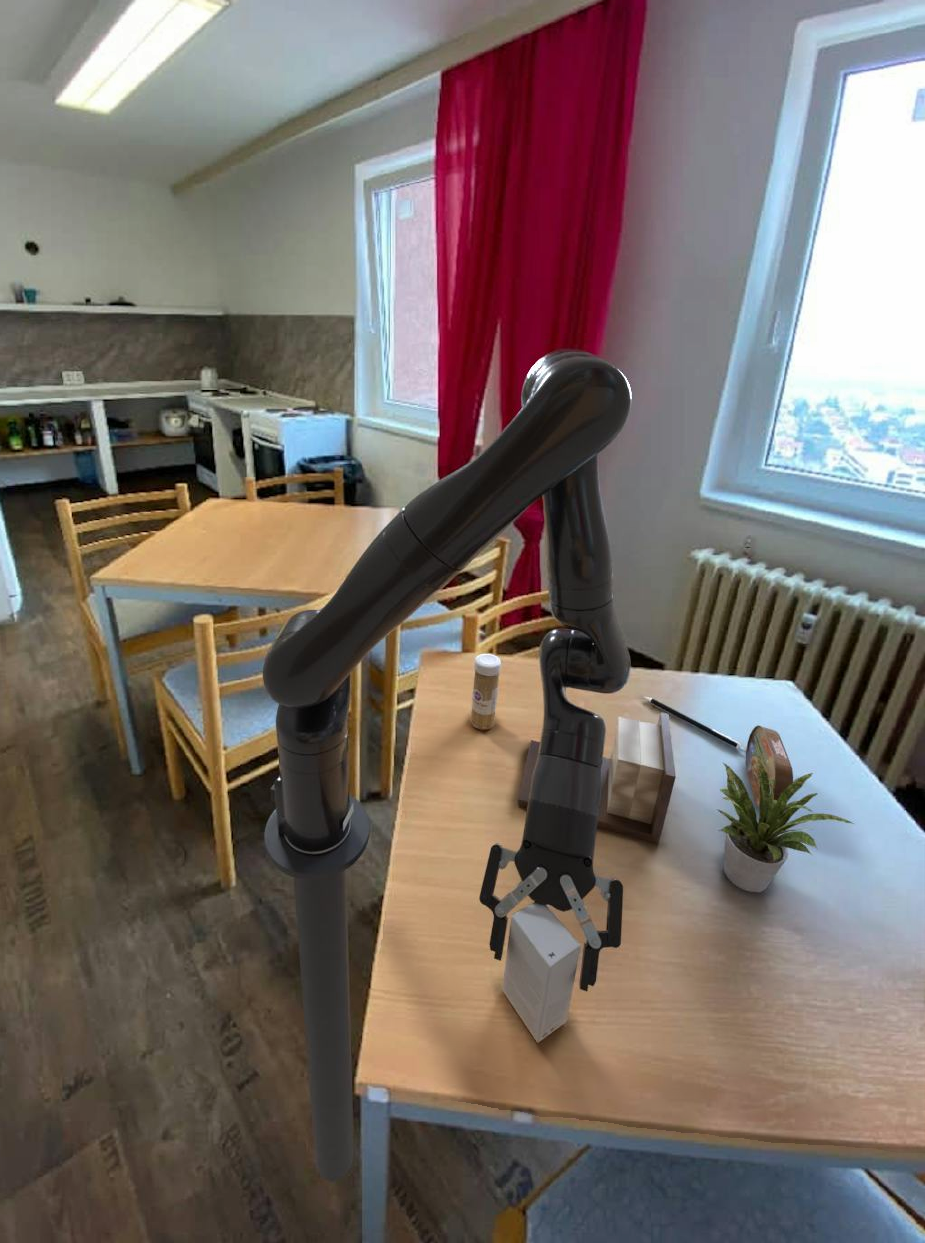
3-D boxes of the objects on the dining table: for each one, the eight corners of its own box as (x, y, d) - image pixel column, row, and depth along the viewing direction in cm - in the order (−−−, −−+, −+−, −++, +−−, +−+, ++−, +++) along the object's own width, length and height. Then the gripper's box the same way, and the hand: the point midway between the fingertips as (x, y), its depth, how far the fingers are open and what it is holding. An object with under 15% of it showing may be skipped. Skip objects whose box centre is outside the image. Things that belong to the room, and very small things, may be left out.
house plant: (816, 861, 80) (853, 769, 74) (822, 949, 69) (867, 848, 63) (702, 817, 87) (727, 729, 80) (691, 891, 76) (719, 795, 69)
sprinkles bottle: (465, 724, 105) (470, 661, 100) (477, 711, 109) (482, 649, 104) (488, 734, 103) (494, 670, 98) (499, 720, 106) (505, 658, 101)
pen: (744, 753, 99) (746, 748, 99) (641, 699, 113) (642, 694, 112) (747, 751, 100) (748, 746, 99) (644, 697, 113) (645, 692, 113)
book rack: (517, 805, 88) (525, 741, 84) (530, 745, 100) (537, 686, 96) (658, 843, 82) (675, 777, 78) (654, 775, 94) (668, 713, 90)
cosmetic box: (568, 1022, 61) (583, 947, 57) (537, 1045, 59) (550, 969, 55) (529, 969, 66) (541, 896, 62) (500, 989, 64) (509, 914, 60)
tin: (741, 754, 99) (754, 713, 96) (762, 758, 98) (775, 718, 95) (759, 821, 86) (774, 777, 83) (783, 827, 85) (799, 783, 82)
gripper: (497, 786, 63) (466, 957, 58) (636, 822, 59) (617, 1011, 53) (502, 788, 70) (475, 942, 64) (627, 821, 66) (610, 989, 60)
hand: (539, 973), depth 59 cm, fingers open, 8 cm apart
